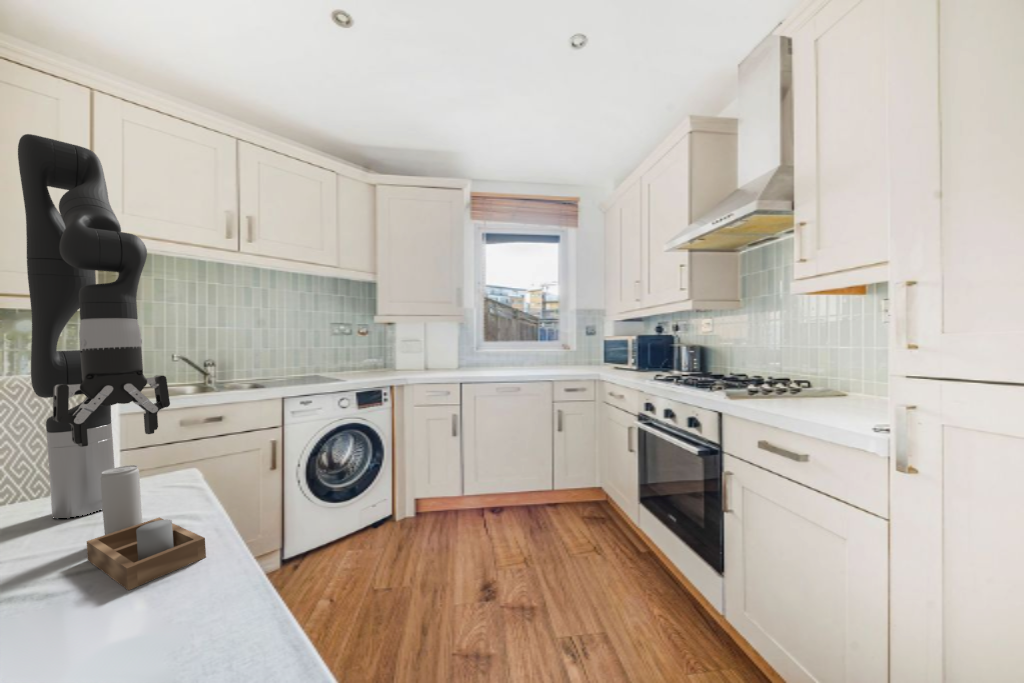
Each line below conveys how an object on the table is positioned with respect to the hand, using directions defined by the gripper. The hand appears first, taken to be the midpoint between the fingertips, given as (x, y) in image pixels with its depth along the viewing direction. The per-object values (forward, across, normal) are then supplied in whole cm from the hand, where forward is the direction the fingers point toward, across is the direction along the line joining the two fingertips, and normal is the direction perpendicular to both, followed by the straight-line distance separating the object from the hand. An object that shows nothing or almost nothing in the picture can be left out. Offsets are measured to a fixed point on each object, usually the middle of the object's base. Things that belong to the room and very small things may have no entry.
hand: (117, 439), depth 70 cm
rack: (+17, +1, +13) cm, 22 cm away
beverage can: (+17, 0, 0) cm, 17 cm away
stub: (+17, +1, +17) cm, 24 cm away
